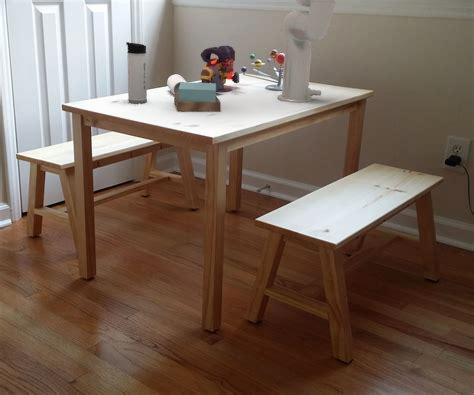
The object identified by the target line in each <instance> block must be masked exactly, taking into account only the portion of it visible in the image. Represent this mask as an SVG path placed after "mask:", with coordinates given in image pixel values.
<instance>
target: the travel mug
mask: <svg viewBox="0 0 474 395" xmlns="http://www.w3.org/2000/svg"><path fill="white" fill-rule="evenodd" d="M125 45H126V46H127V92H128V93H127V94H128V96H127V98H128V102H129V103H130V104H137V105H138V104H139V105H140V104H146V103H147V102H148V99H147V97H148V94H147V90H148V88H147V87H148V86H147V85H148V84H147V82H148V81H147V79H148V78H147V45H145V44H143V43H135V42H130V41H129V42H127V41H126V42H125Z"/></svg>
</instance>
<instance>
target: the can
mask: <svg viewBox="0 0 474 395" xmlns="http://www.w3.org/2000/svg"><path fill="white" fill-rule="evenodd" d="M166 82H167V83H166V85H167V87H168V89H169V90H170V92H171V93H173V95H174V94H179V86H180V83H181V82H187V81H186V79H184V77H183V76H182V75H180V74H172V75H170V76H169V77H168V79H167V81H166Z"/></svg>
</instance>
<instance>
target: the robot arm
mask: <svg viewBox="0 0 474 395" xmlns="http://www.w3.org/2000/svg"><path fill="white" fill-rule="evenodd" d="M296 2H297V4H298V5H300V6H302V7H305V8H309V9H308V10H303V9H295V10H292V11H291V12H289V13H288V14H287V15H286V16H285V18H284V21H283V34H284V56H283V71H282V85H281V88H282V89H281V93H280V94H278V95H277V97H276V98H277V100H278V101H280V102H285V103H290V104H291V103H292V104H294V103H295V104H304V103H305V104H306V103H311V102H312V101H313V98H312V97H313V96H315V97H319V96H321V95H322V91H321V90H316V89H311V88H310V87H309V86H310V74H311V73H310V72H311V61H312V44H311V43H312V42H318V41H321V40H322V39H323V38H324V37H325V36H326V34H327V33H328V30H329V28H330V24H331V21H332V18H333V14H334V10H335V6H336V2H337V0H296Z"/></svg>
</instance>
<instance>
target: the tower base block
mask: <svg viewBox="0 0 474 395" xmlns="http://www.w3.org/2000/svg"><path fill="white" fill-rule="evenodd" d="M173 95H174V96H173V98H174V100H173V101H174V102H173V104H174V107H175V108H176V111H177V113H183V112H184V113H191V112H192V113H196V112H198V113H201V112H202V113H213V112H214V113H216V112H217V113H221V108H222V105H221V101H220V99H219V98H218V97H217V95H216V102H189V101H179V94H173Z"/></svg>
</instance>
